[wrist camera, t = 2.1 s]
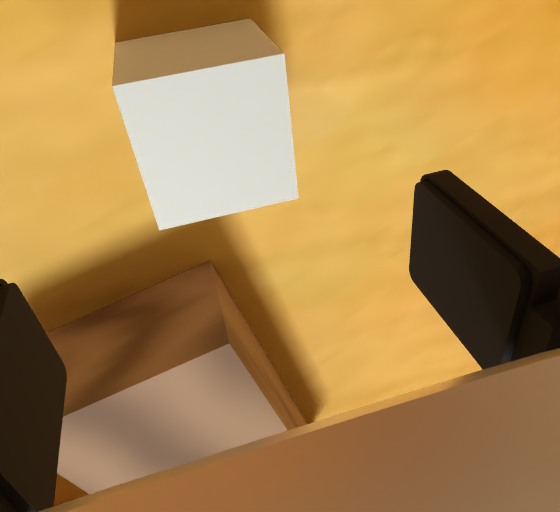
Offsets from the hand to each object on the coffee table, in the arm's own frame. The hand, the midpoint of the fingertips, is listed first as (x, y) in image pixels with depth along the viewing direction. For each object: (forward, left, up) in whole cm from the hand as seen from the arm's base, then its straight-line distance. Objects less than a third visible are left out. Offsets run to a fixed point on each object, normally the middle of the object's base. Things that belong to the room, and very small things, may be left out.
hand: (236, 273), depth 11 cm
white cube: (0, -1, -11) cm, 11 cm away
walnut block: (+4, +17, -11) cm, 21 cm away
